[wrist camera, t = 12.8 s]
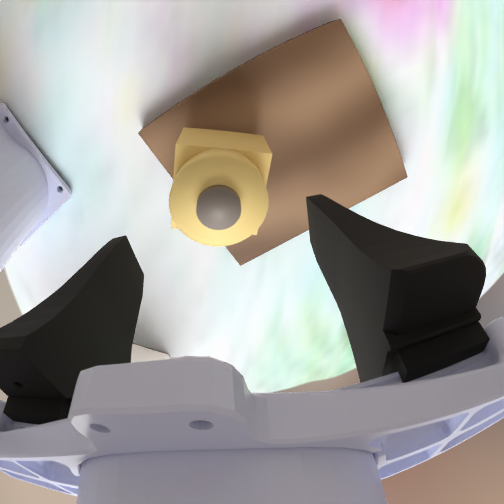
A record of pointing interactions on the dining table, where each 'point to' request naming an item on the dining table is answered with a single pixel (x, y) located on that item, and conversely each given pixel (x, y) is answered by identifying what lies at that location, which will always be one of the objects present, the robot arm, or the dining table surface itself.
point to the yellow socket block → (219, 185)
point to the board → (296, 129)
